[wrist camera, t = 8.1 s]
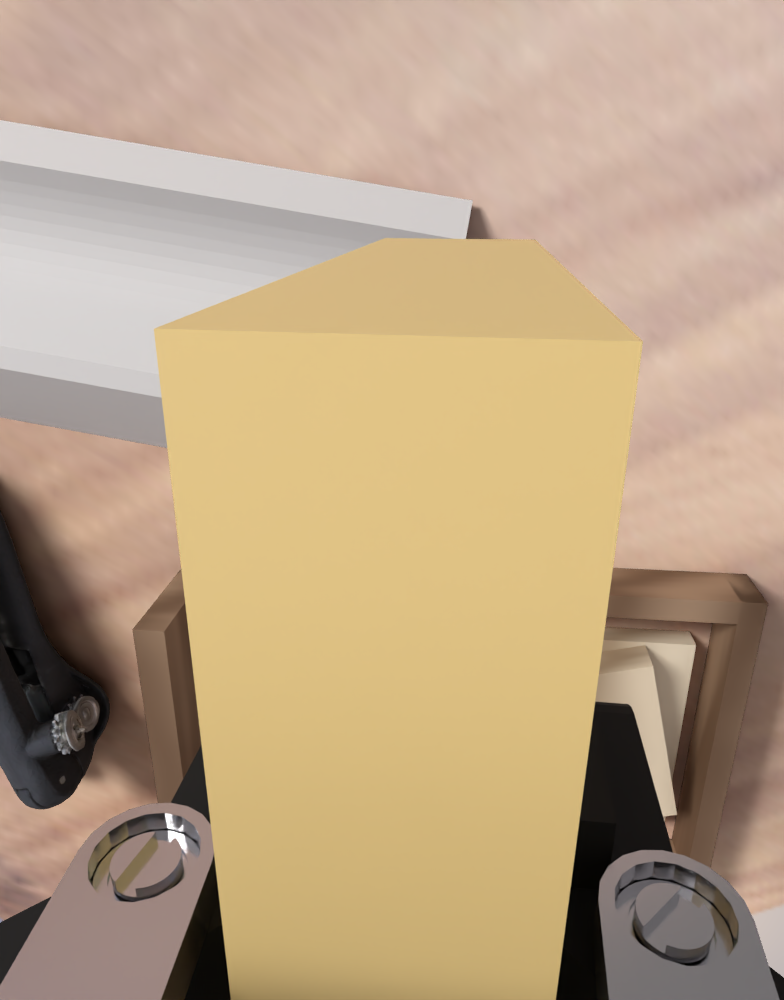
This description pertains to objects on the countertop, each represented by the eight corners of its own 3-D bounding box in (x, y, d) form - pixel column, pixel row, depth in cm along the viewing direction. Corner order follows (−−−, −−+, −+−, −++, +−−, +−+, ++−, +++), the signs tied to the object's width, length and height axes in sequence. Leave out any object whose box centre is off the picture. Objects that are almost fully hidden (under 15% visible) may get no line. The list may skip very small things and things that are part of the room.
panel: (535, 239, 12) (642, 342, 3) (492, 818, 16) (495, 1458, 8) (384, 238, 12) (154, 329, 4) (384, 807, 17) (278, 1415, 8)
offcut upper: (645, 645, 32) (653, 666, 31) (668, 788, 35) (677, 814, 33) (507, 666, 33) (509, 687, 32) (540, 804, 36) (543, 829, 34)
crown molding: (472, 205, 28) (472, 206, 25) (418, 494, 33) (412, 528, 29) (-318, 70, 29) (-421, 54, 26) (-261, 370, 34) (-342, 389, 30)
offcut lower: (685, 623, 34) (696, 645, 32) (655, 796, 37) (664, 824, 36) (506, 613, 34) (508, 634, 33) (495, 783, 38) (496, 810, 36)
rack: (746, 574, 32) (816, 669, 25) (689, 855, 38) (734, 991, 31) (197, 548, 34) (132, 630, 27) (225, 817, 40) (177, 936, 33)
